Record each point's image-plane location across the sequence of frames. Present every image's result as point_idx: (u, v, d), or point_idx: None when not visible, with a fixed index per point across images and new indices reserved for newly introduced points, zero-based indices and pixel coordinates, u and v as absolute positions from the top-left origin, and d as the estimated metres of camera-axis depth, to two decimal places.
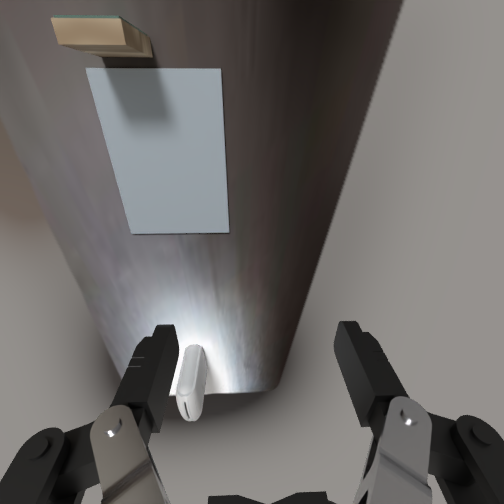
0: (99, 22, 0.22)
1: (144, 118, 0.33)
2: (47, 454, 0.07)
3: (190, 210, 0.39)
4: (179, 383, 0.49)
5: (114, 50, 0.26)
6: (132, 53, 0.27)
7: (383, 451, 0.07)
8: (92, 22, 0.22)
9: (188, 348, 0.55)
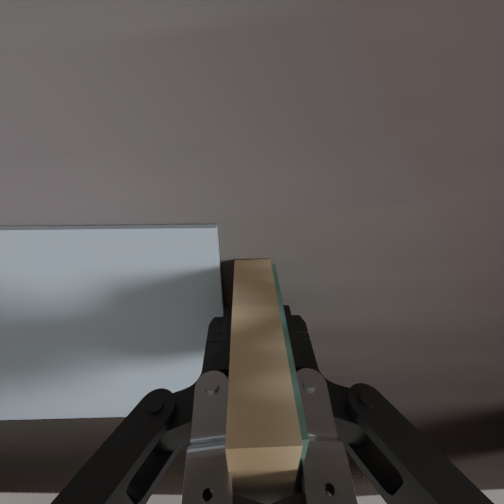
0: None
1: (130, 322, 0.14)
2: (163, 410, 0.08)
3: None
4: None
5: None
6: None
7: None
8: (282, 498, 0.08)
9: None
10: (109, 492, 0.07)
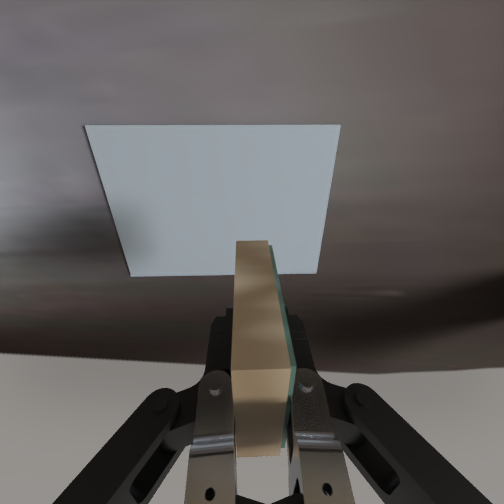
0: (275, 434, 0.10)
1: (277, 190, 0.25)
2: (167, 409, 0.08)
3: (154, 231, 0.27)
4: None
5: None
6: None
7: (298, 431, 0.08)
8: (276, 426, 0.09)
9: None
10: (112, 491, 0.07)
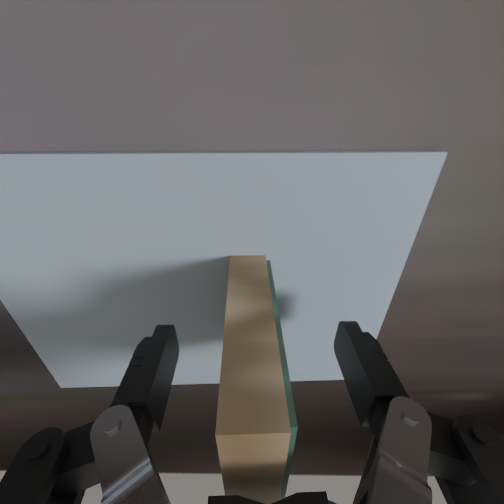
0: (272, 494, 0.08)
1: (306, 268, 0.13)
2: (47, 454, 0.07)
3: (88, 330, 0.15)
4: None
5: None
6: None
7: (383, 451, 0.07)
8: (273, 486, 0.08)
9: None
10: None
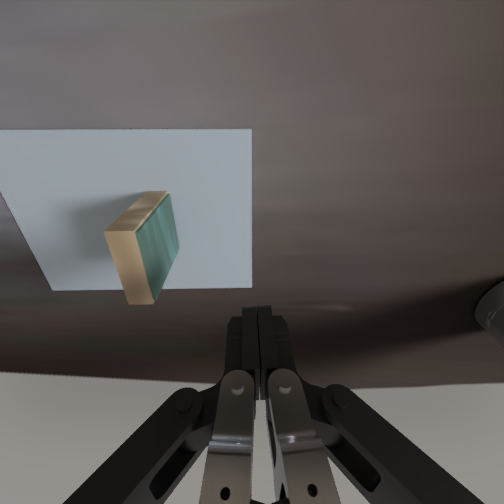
0: (143, 283, 0.18)
1: (193, 200, 0.23)
2: (191, 409, 0.08)
3: (68, 243, 0.25)
4: None
5: None
6: None
7: (280, 434, 0.08)
8: (141, 276, 0.17)
9: None
10: (133, 485, 0.07)
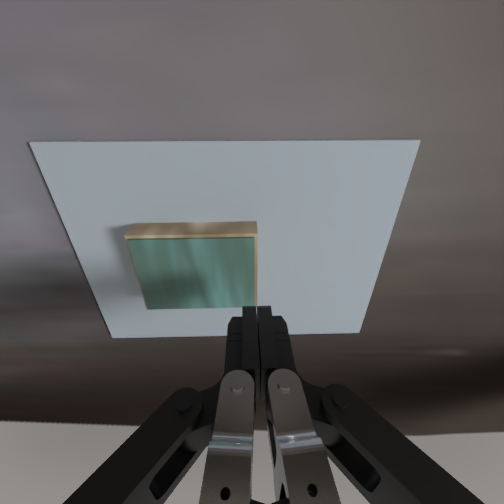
0: None
1: (316, 232, 0.17)
2: (191, 409, 0.08)
3: None
4: None
5: None
6: None
7: (280, 434, 0.08)
8: None
9: None
10: (133, 485, 0.07)
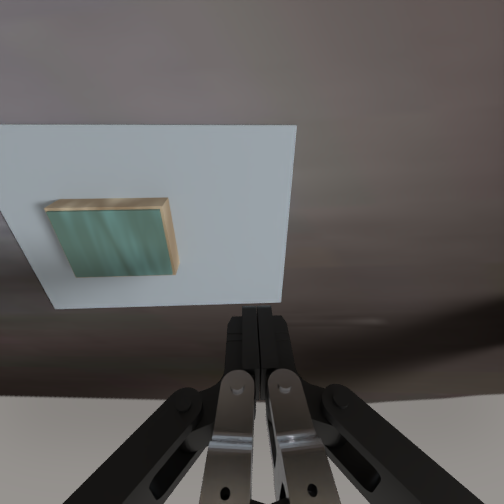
0: None
1: (223, 207, 0.20)
2: (191, 409, 0.08)
3: None
4: None
5: None
6: None
7: (280, 434, 0.08)
8: None
9: None
10: (133, 485, 0.07)
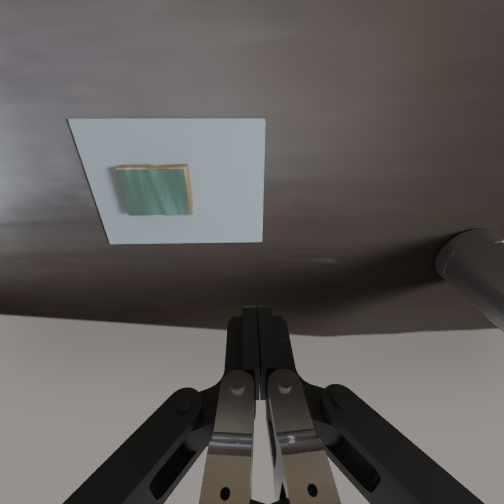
0: None
1: (222, 171, 0.31)
2: (191, 409, 0.08)
3: None
4: None
5: None
6: None
7: (280, 434, 0.08)
8: None
9: None
10: (133, 485, 0.07)
